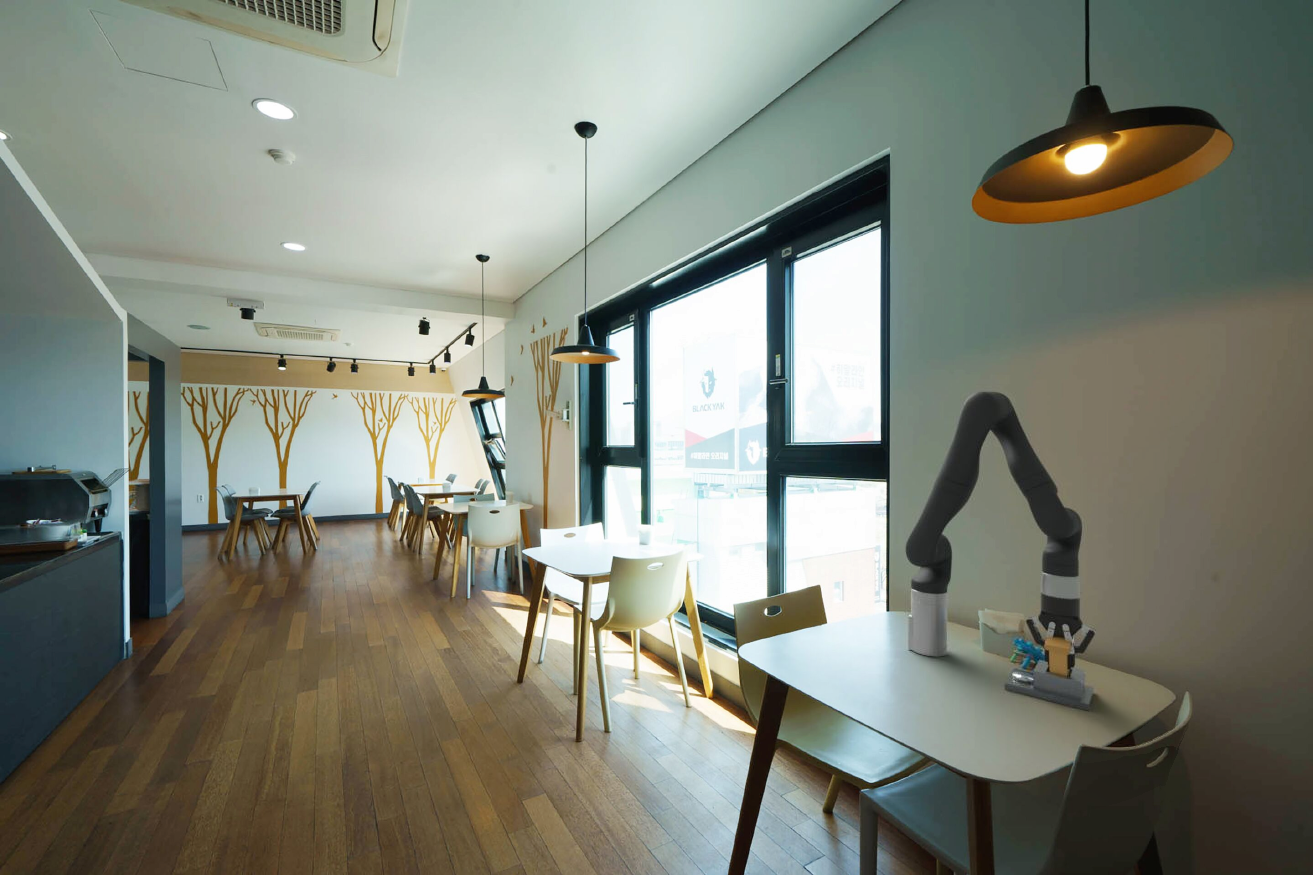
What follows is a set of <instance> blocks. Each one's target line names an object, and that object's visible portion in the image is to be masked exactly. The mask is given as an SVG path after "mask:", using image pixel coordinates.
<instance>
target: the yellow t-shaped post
mask: <svg viewBox="0 0 1313 875" xmlns="http://www.w3.org/2000/svg"><path fill="white" fill-rule="evenodd" d="M1068 639H1069V638H1068ZM1045 640H1046V641H1045V649H1044V651H1045V650H1049V665H1050V673H1055V674H1059V675H1063V676H1068V677H1069V669H1067V654H1068V655H1069V654H1070V650H1071V642H1070V641H1066V640H1065V638H1063V637H1060V636H1053V638H1049V637H1047V638H1046V637H1045Z"/></svg>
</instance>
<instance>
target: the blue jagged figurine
mask: <svg viewBox="0 0 1313 875" xmlns="http://www.w3.org/2000/svg"><path fill="white" fill-rule="evenodd" d="M1012 644H1013V645H1015V646H1018V647H1017V649H1016V650H1013V651H1012V652H1013V655H1012V657H1011V658H1010V662H1012V663H1013V662H1014V661H1015V659H1016V658H1017V657H1020V658H1023V659H1025V660H1024V661H1023V663H1022V664H1021V665H1020V666H1021V668H1023V669H1026V668H1027V667H1028V666H1029V664H1030V663H1031V661H1033V662H1034V663H1035V664H1037V663H1038V661H1039V660H1042V661H1045V653H1044V652H1043V651H1044V649H1043V648H1041V647H1039V646H1037V647H1035V646H1034V643H1033V642H1031V641H1027V642H1026V640H1025V639H1024V638H1018V637H1015V638H1014V639H1013V642H1012Z"/></svg>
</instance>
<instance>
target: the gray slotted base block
mask: <svg viewBox="0 0 1313 875" xmlns="http://www.w3.org/2000/svg"><path fill="white" fill-rule="evenodd" d="M1004 690H1007V691H1009V692H1014V693H1018V694H1021V695H1026V696H1029V697H1033V698H1037V699H1041V700H1045V701H1048V702H1052V703H1056V704H1060V705H1062V706H1063V705H1065V706H1068V707H1071V708H1076V709H1078V710H1079V709H1080V710H1083V711H1087V712H1089V711H1090V709H1091V708H1090V707H1091V705H1092V700H1093V696H1094V686H1091V685H1087V684H1086V670H1085V669H1082V668H1078V667H1074V668H1071V670H1069V677H1068V676H1063V675H1059V674H1055V673H1050V665H1048V662H1045V661H1042V660H1039V661H1038V663H1036V665H1035V667H1034V669H1033V671H1032V672H1031V671H1027V670H1023V669H1018V668H1012V671H1011V672H1010V674H1009V675H1008V676H1007V679H1006V680H1005V682H1004Z"/></svg>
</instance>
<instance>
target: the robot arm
mask: <svg viewBox="0 0 1313 875" xmlns="http://www.w3.org/2000/svg"><path fill="white" fill-rule="evenodd" d="M955 429H956V430H955V432H954V436H953V438H952V441H951V443H950V446H949V447H948V450H947V452H946V455H945V457H944V459H943V461H942V462H943V463H942V464H941V466H940V468H939V471H938V473H937V476H936V478H935V481H934V482H933V487H932V489H931V492H930V493H929V496H928V498H927V500H926V502H925V506H924V508H923V510H922V513H921V514H920V517H919V518H918V520H917V523H916V524H915V526H914V527H913V529H912V531H911V533H910V535H909V537H908V538H907V540H906V544H905V554H906V558H907V560H908V562H909V563H911V565H913V566H916V567H920V568H919V570H918V572H917V573H916V574H915V575H914V576H913V577H911V581H910V583H911V584H910V614H909V615H908V618H907V619H908V622H907V623H908V627H907V628H908V630H907V631H908V632H907V634H908V635H907V636H908V638H907V639H908V640H907V647H908V648H907V650H911V651H912V652H915V653H917V654H920V655H922V656H928V657H944V656H946V655H947V654H948V653H947V652H948V587H949V585H950V582H951V578H952V577H951V576H952V565H953V562H952V561H953V551H952V550H953V549H952V544H951V542H950V540H949V539H948V537H947V536H946V535H944V534H943V532H944V530H945V528H947V526H948V524H949V523H950V522H951V521H952V520H953V519H954V518H955V516H957V514H958V513H959V512H960V511H961V510H962V509H963V508H964V507H965V506H966V504H967V503H968V502H969V499H970V498H971V496H972V494H973V491H974V489H975V487H976V484H977V483H978V480H979V474H980V460H981V458H980V456H981V451H982V447H983V445H984V442H985V440H986V439H987V436H988V435H989V432H990V431H991V432H992V433H993V435H994V436H995V438H996V439H997V440H998V442H999V444H1000V446H1001V448H1002V450H1003V453H1004V456H1005V460H1006V463H1007V467H1008V470H1009V472H1010V475H1011V476H1012V479H1013V481H1014V482H1015V484H1016V485H1017V486H1018V488H1019V490H1020V492H1021V493H1022V495H1023V497H1025V499H1026V502H1027V503H1028V507H1029V509H1030V512H1031V514H1032V517H1033V519H1034V521H1035V523H1036V525H1037V526H1038V528H1039V529H1040V531H1041V532H1042V533H1043V534H1044V535H1046V536H1047V537H1046V538H1047V539H1046V546H1045V548H1044V549H1043V552H1042V555H1041V556H1042V557H1041V559H1042V560H1041V578H1040V613H1039V614H1038V616H1037V617H1036V616H1035V617H1031V616H1029V617H1028V618H1026V620H1025V623H1026V625H1027V627H1028V629H1029V632H1030V633H1031V636H1032V637H1033V640H1034V642H1035V644H1037V645H1039V646H1041V647H1042V648H1043V650H1044V655H1045V662H1048V665H1049V650H1045V641H1046V638H1047V637H1049V638H1053V636H1060V637H1063V638H1065V640H1066V641H1070V642H1071V650H1070V654H1069V655H1068V654H1067V669H1069V670H1071V668H1075V665H1076V654H1084V653H1085V652H1086V650H1087V649H1088V647H1089V646H1090V645H1089V644H1090V643H1091V641H1092V640H1093V639H1094V637H1095V634H1096V629H1094V628H1090V627H1088V626H1086V625H1085V624H1083V621H1082V619H1081V584H1080V579H1079V578H1080V576H1079V574H1080V573H1079V572H1080V571H1079V570H1080V569H1079V568H1080V567H1079V565H1080V563H1079V553H1080V548H1081V541H1082V536H1083V523H1082V519H1081V516H1080V514H1079V513H1078V512H1077V511H1075V510H1074V509H1072V508H1068V507H1064V504H1063V503H1062V501H1061V498H1060V497H1059V496H1058V493H1059V490H1058V487H1057V485H1056V483H1055V481H1054V480H1053V478H1052V477H1051V476H1050V474H1049V472H1048V470H1047V469H1046V468H1045V466H1044V464H1043V463H1042V462H1041V460H1040V458H1039V457H1038V455H1037V453H1036V452H1035V450H1034V448H1033V447H1032V444H1031V443H1030V441H1029V439H1028V437H1027V435H1026V433H1025V430H1024V429H1023V426H1022V424H1021V422H1020V419H1019V417H1018V415H1017V412H1016V410H1015V408H1014V406H1013V403H1012V401H1011V400H1010V398H1009V397H1008V396H1007V395H1005V394H1004V393H1001V392H997V391H977V392H975V393H973V394H971V395H969V396H968V398H967V399H966V400H965V401H964V403H963V406H962V408H961V411H960V415H959V418H958V421H957V425H956V428H955ZM1039 623H1040V624H1041V625H1042V627H1043V628H1044V630H1045V631H1046V637H1045V639H1043V637H1042V635H1041V632H1040V631H1039V628H1038V627H1039ZM1080 630H1082V631H1081V632H1082V636H1083V639H1082V641H1081V642H1080V644H1079V645H1076V644H1075V637H1074V636H1075V635H1076V634H1077V633H1078V632H1079V631H1080ZM1068 638H1069V639H1068Z"/></svg>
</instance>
